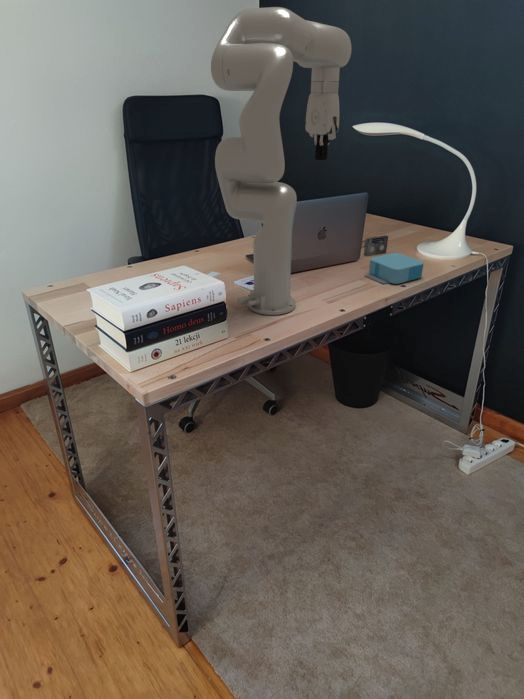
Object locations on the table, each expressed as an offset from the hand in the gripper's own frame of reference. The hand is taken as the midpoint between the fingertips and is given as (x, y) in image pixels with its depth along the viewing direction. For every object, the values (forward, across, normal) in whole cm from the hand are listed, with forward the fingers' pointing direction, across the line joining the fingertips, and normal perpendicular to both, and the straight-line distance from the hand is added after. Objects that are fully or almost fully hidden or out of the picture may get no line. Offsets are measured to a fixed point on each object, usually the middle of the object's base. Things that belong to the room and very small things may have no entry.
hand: (321, 159), depth 148 cm
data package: (+29, +15, +14) cm, 36 cm away
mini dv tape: (+32, +2, +24) cm, 40 cm away
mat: (+32, +20, +14) cm, 40 cm away
